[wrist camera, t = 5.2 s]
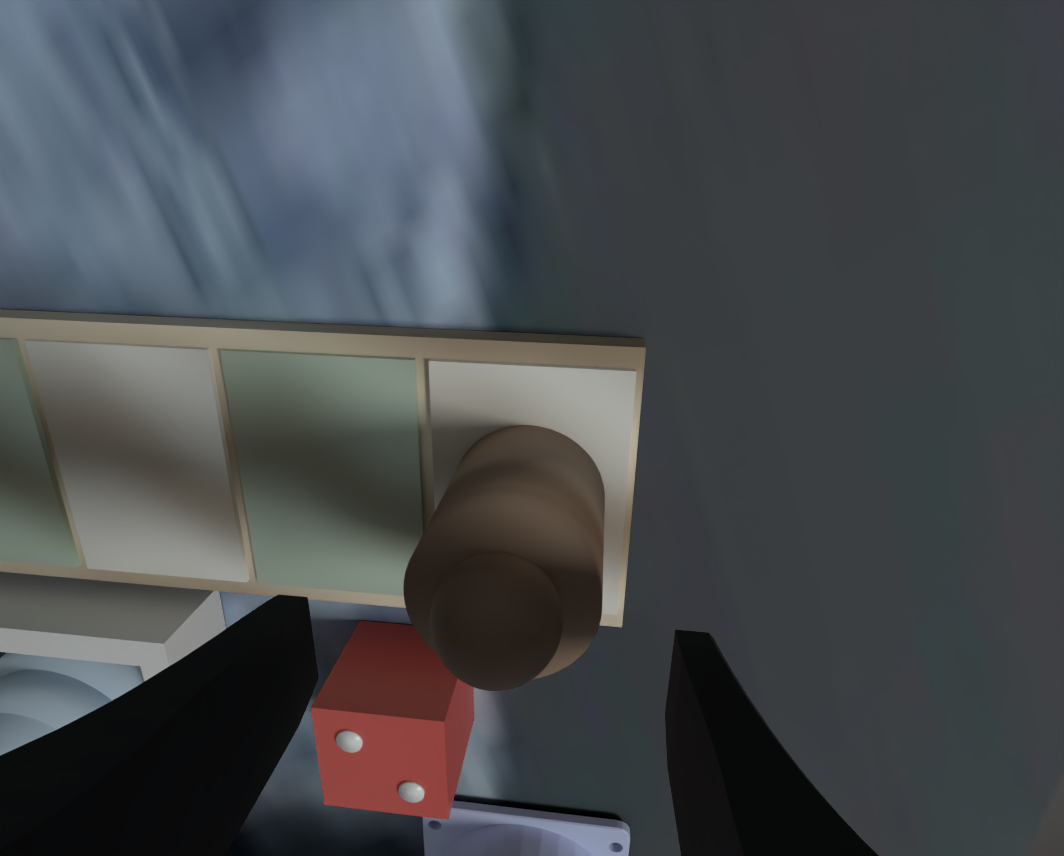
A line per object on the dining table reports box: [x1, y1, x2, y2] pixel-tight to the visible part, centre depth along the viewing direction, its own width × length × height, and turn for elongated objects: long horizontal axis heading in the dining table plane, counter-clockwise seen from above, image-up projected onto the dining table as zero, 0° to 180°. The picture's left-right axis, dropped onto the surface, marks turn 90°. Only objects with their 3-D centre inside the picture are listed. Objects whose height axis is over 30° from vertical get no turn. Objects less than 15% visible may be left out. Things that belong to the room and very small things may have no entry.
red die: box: [311, 620, 474, 820], centre depth 21 cm, size 4×4×4 cm
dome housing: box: [0, 572, 226, 682], centre depth 24 cm, size 10×10×3 cm
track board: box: [0, 309, 646, 627], centre depth 20 cm, size 9×24×1 cm, turn 89°
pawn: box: [403, 425, 605, 691], centre depth 16 cm, size 4×4×7 cm
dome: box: [0, 653, 144, 755], centre depth 22 cm, size 7×7×5 cm
